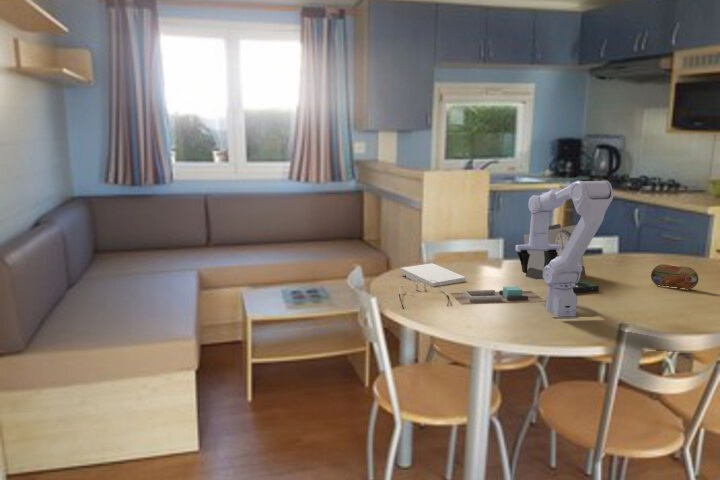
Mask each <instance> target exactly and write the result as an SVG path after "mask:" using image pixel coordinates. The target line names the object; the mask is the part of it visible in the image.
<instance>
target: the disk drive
mask: <svg viewBox="0 0 720 480" xmlns="http://www.w3.org/2000/svg"><path fill="white" fill-rule="evenodd" d="M599 287H600V285H599V284H597V283H596V284H595V283H593V282H591V281H587V280H584V279H582V278H580V279H579V281H578V283H576V284H575V287H573V292H574V293H575V294H576V295H579V294H588V293H589V294H590V293H598V292H599Z"/></svg>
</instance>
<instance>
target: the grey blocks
mask: <svg viewBox="0 0 720 480" xmlns="http://www.w3.org/2000/svg"><path fill="white" fill-rule="evenodd" d="M498 292H499V294H500V295H503V289H502V290H499V291H498ZM507 300H508V301H512V300H528V296H507Z"/></svg>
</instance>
